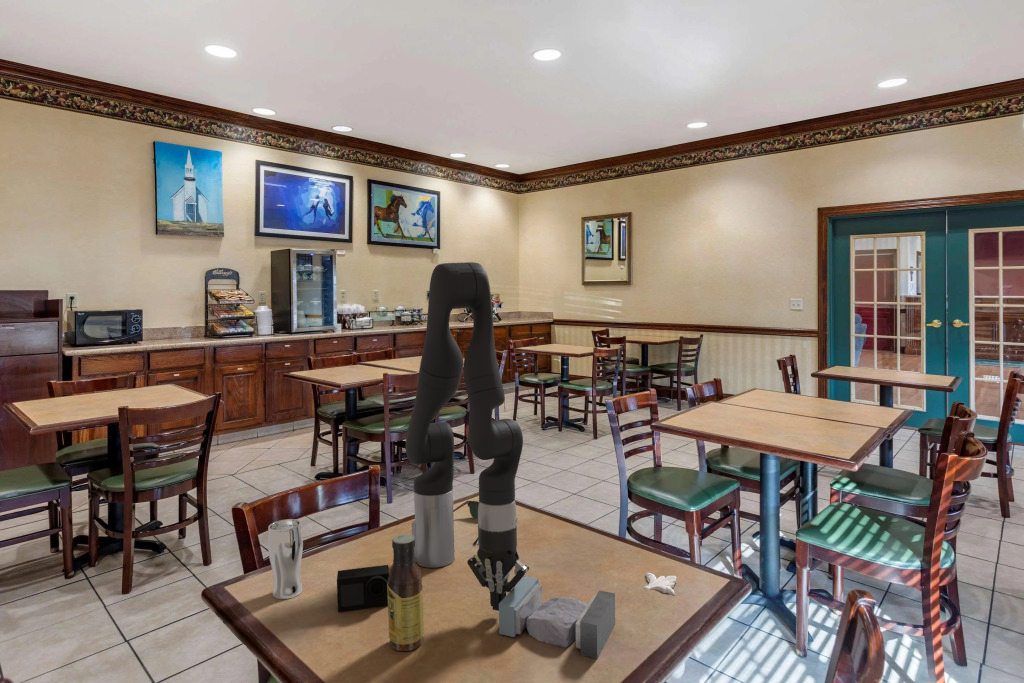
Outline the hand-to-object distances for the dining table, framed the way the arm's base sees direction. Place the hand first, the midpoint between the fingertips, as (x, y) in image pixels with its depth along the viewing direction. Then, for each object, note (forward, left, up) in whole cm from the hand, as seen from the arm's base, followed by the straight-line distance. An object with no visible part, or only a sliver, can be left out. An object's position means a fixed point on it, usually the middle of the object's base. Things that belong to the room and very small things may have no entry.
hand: (498, 608), depth 114 cm
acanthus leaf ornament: (+27, +25, -2) cm, 36 cm away
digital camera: (-27, -7, -2) cm, 28 cm away
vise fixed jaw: (+20, 0, -2) cm, 20 cm away
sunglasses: (-25, +38, -2) cm, 45 cm away
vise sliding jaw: (+5, 0, -1) cm, 5 cm away
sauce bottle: (-11, -15, -2) cm, 19 cm away
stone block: (+12, +1, -2) cm, 12 cm away
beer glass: (-46, -9, -2) cm, 47 cm away
